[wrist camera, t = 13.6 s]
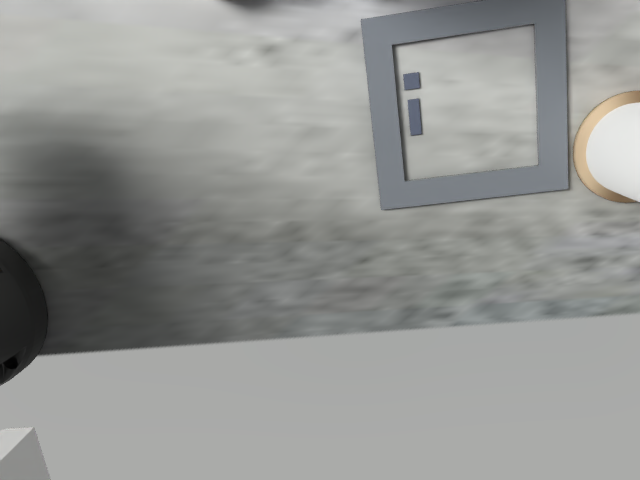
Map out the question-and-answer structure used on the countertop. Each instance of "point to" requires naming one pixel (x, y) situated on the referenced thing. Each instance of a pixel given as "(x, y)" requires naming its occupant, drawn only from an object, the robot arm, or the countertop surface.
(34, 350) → the robot arm
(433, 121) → the countertop surface
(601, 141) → the can
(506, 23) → the frame
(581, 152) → the coaster
